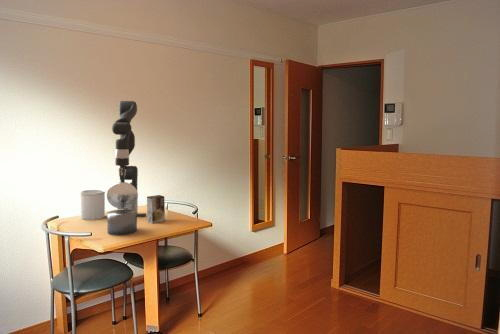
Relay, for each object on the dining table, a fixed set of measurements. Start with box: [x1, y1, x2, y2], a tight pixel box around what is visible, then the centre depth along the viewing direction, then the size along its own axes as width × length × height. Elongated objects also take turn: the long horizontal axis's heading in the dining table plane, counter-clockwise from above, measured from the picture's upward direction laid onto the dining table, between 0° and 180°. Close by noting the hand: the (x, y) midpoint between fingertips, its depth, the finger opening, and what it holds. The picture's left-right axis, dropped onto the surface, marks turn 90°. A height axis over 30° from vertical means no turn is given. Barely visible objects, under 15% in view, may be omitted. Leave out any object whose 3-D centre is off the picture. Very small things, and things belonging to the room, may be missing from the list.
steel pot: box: [106, 209, 147, 236], centre depth 223 cm, size 16×21×11 cm
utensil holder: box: [79, 188, 106, 221], centre depth 253 cm, size 15×15×18 cm
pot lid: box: [106, 181, 139, 210], centre depth 227 cm, size 18×17×3 cm
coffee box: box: [146, 194, 166, 224], centre depth 246 cm, size 9×6×16 cm
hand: (122, 186), depth 228 cm, fingers closed
